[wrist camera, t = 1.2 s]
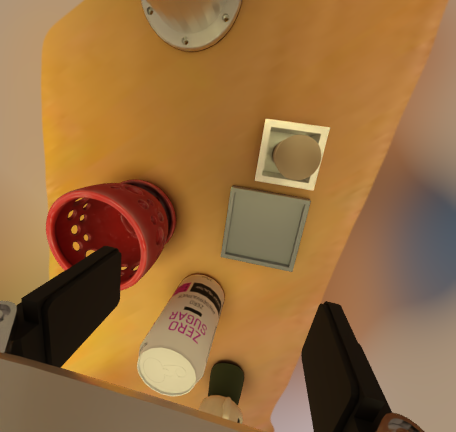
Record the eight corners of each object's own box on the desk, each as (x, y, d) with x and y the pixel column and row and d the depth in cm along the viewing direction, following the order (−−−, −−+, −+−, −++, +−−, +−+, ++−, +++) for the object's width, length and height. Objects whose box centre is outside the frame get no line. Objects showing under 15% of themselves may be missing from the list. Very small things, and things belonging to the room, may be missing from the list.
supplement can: (183, 313, 42) (140, 397, 28) (176, 272, 40) (125, 341, 26) (227, 313, 40) (205, 403, 26) (222, 271, 38) (195, 344, 24)
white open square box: (266, 125, 31) (265, 118, 24) (316, 132, 30) (330, 127, 24) (257, 174, 33) (254, 180, 26) (303, 181, 32) (313, 190, 26)
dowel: (275, 138, 31) (280, 131, 18) (302, 142, 30) (326, 138, 18) (269, 165, 32) (271, 176, 19) (296, 169, 31) (314, 183, 19)
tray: (232, 185, 34) (231, 187, 32) (308, 198, 33) (310, 201, 31) (222, 252, 37) (220, 256, 36) (291, 266, 36) (292, 271, 34)
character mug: (237, 397, 46) (226, 490, 33) (203, 384, 46) (180, 470, 34) (254, 358, 42) (249, 444, 30) (218, 344, 43) (198, 424, 30)
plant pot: (95, 192, 38) (21, 211, 27) (162, 163, 35) (112, 171, 23) (130, 261, 41) (77, 305, 29) (196, 240, 37) (165, 280, 26)
